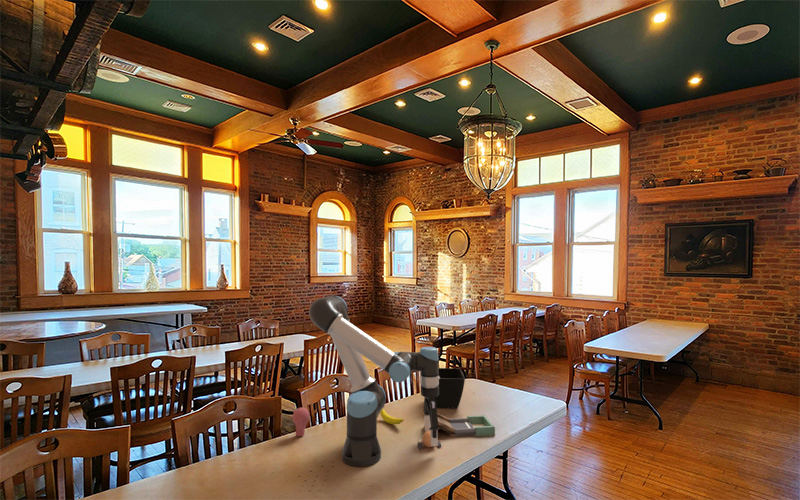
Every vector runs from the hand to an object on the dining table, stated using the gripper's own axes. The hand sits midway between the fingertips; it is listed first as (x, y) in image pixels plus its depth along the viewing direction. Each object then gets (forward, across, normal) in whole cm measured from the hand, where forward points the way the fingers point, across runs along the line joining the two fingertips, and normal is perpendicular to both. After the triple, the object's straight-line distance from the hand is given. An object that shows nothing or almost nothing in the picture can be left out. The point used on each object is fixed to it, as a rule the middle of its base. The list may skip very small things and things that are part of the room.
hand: (431, 437), depth 159 cm
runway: (+4, +14, -17) cm, 22 cm away
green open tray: (+4, +14, -26) cm, 30 cm away
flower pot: (+4, +46, -16) cm, 49 cm away
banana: (+3, +24, +15) cm, 28 cm away
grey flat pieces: (+3, 0, +1) cm, 3 cm away
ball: (0, 0, 0) cm, 1 cm away
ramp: (+4, +14, -7) cm, 16 cm away
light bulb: (+2, +15, +55) cm, 57 cm away
